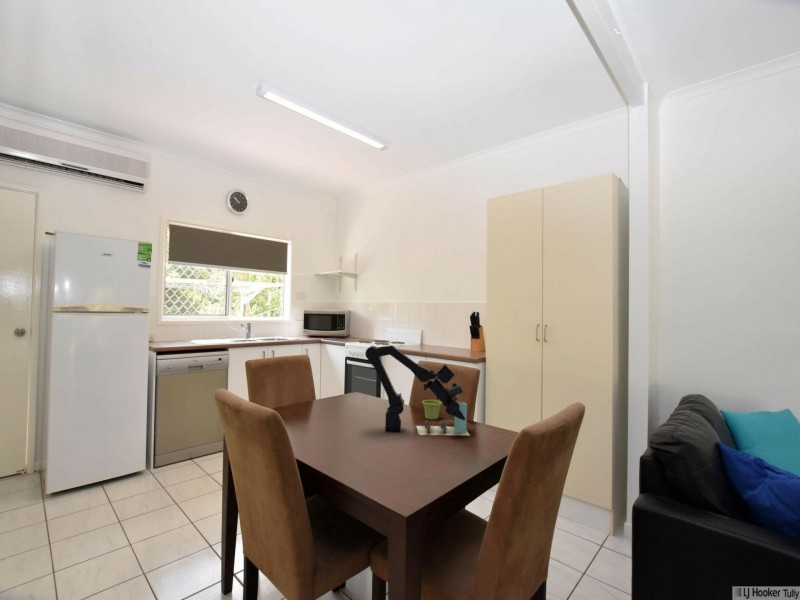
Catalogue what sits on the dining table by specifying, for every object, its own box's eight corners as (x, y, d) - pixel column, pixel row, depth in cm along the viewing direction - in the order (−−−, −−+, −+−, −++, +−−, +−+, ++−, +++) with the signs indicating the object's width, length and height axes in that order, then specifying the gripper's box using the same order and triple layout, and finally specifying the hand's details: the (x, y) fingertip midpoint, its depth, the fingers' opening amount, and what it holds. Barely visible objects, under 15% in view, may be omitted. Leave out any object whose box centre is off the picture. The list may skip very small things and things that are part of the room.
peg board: (418, 437, 159) (419, 427, 159) (416, 428, 171) (416, 419, 171) (470, 437, 160) (470, 428, 160) (463, 428, 172) (464, 420, 172)
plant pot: (418, 417, 188) (419, 400, 188) (435, 416, 192) (435, 399, 192) (427, 423, 179) (428, 404, 179) (444, 421, 183) (445, 403, 183)
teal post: (456, 432, 164) (456, 404, 164) (454, 429, 168) (454, 402, 168) (466, 432, 164) (466, 404, 164) (463, 429, 168) (464, 402, 169)
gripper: (454, 382, 157) (480, 409, 157) (450, 374, 176) (473, 399, 175) (435, 400, 158) (460, 428, 157) (433, 390, 176) (456, 415, 175)
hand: (463, 416), depth 166 cm, fingers open, 9 cm apart
